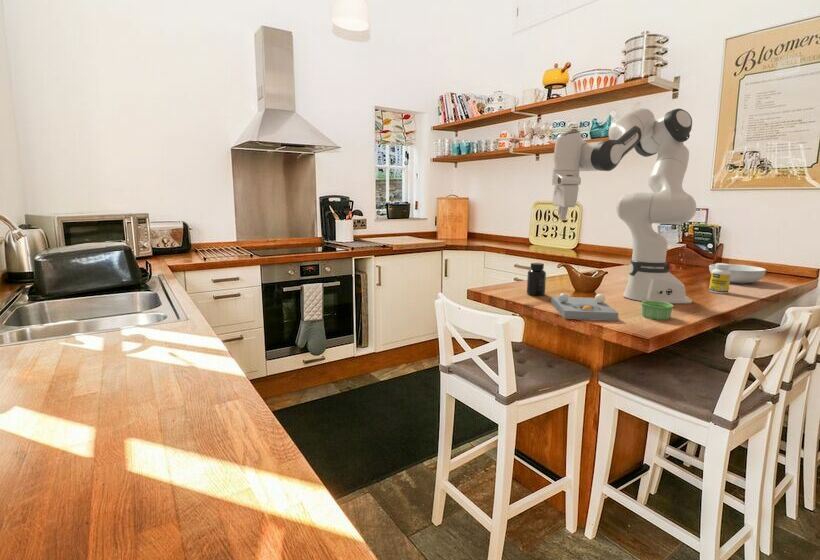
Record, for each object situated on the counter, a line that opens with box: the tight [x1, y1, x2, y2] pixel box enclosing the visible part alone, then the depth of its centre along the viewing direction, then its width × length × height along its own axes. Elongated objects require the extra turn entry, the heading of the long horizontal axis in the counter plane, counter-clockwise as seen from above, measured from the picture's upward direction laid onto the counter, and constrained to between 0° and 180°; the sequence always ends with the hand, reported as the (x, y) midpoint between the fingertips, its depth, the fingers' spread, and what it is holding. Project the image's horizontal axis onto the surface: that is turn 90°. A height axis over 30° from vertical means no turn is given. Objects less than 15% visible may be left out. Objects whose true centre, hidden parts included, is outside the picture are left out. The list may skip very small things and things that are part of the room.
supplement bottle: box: [526, 262, 547, 297], centre depth 170 cm, size 7×7×12 cm
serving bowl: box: [708, 263, 767, 285], centre depth 202 cm, size 21×21×7 cm
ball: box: [582, 305, 592, 310], centre depth 142 cm, size 3×3×3 cm
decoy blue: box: [557, 292, 570, 303], centre depth 148 cm, size 3×3×3 cm
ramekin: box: [640, 301, 674, 321], centre depth 141 cm, size 9×9×4 cm
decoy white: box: [594, 293, 606, 303], centre depth 148 cm, size 3×3×3 cm
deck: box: [550, 296, 619, 322], centre depth 147 cm, size 20×16×2 cm
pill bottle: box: [708, 262, 731, 295], centre depth 179 cm, size 6×6×12 cm
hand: (562, 219), depth 158 cm, fingers closed
